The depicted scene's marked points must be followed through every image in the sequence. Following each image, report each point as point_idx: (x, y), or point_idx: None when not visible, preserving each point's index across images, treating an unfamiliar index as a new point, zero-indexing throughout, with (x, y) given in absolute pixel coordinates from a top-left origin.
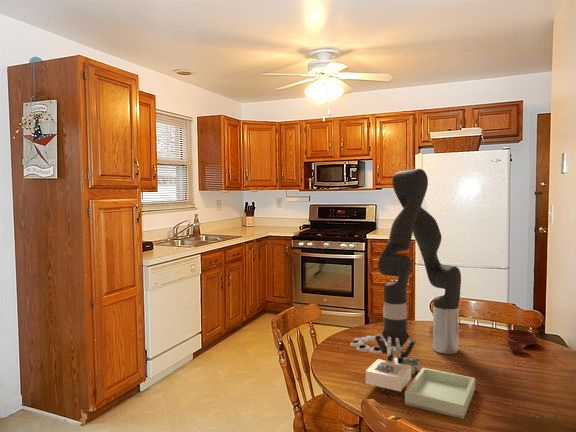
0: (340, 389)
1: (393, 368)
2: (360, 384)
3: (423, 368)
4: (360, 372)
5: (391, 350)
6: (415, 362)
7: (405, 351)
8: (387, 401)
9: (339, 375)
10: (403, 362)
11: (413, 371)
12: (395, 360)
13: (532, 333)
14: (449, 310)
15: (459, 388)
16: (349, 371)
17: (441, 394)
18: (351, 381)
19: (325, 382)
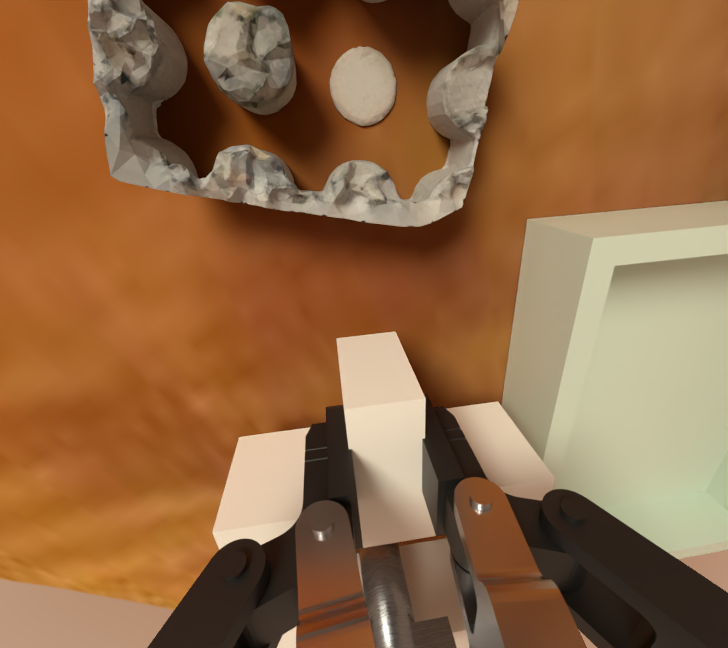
0: (175, 583)
1: (453, 639)
2: (216, 505)
3: (601, 259)
4: (83, 387)
5: (337, 568)
6: None
7: (593, 643)
8: (412, 543)
9: (22, 495)
10: (463, 433)
11: (453, 170)
12: (386, 468)
13: None
14: None
15: None
16: (8, 418)
17: (651, 399)
18: (149, 508)
19: (53, 582)
